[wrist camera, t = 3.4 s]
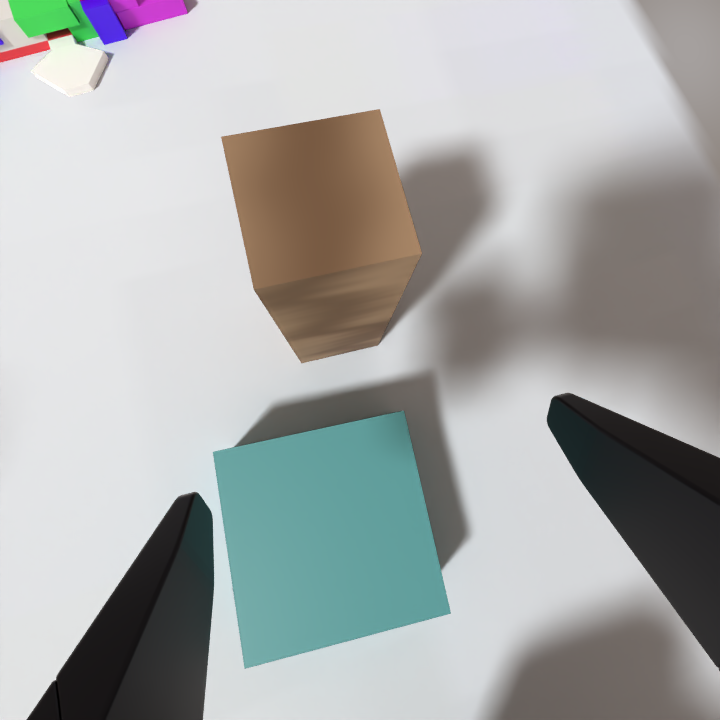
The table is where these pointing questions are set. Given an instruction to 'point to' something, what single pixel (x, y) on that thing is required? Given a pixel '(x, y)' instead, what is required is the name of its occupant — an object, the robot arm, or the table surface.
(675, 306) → the table surface
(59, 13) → the building block set
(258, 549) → the teal base block
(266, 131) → the walnut pillar
